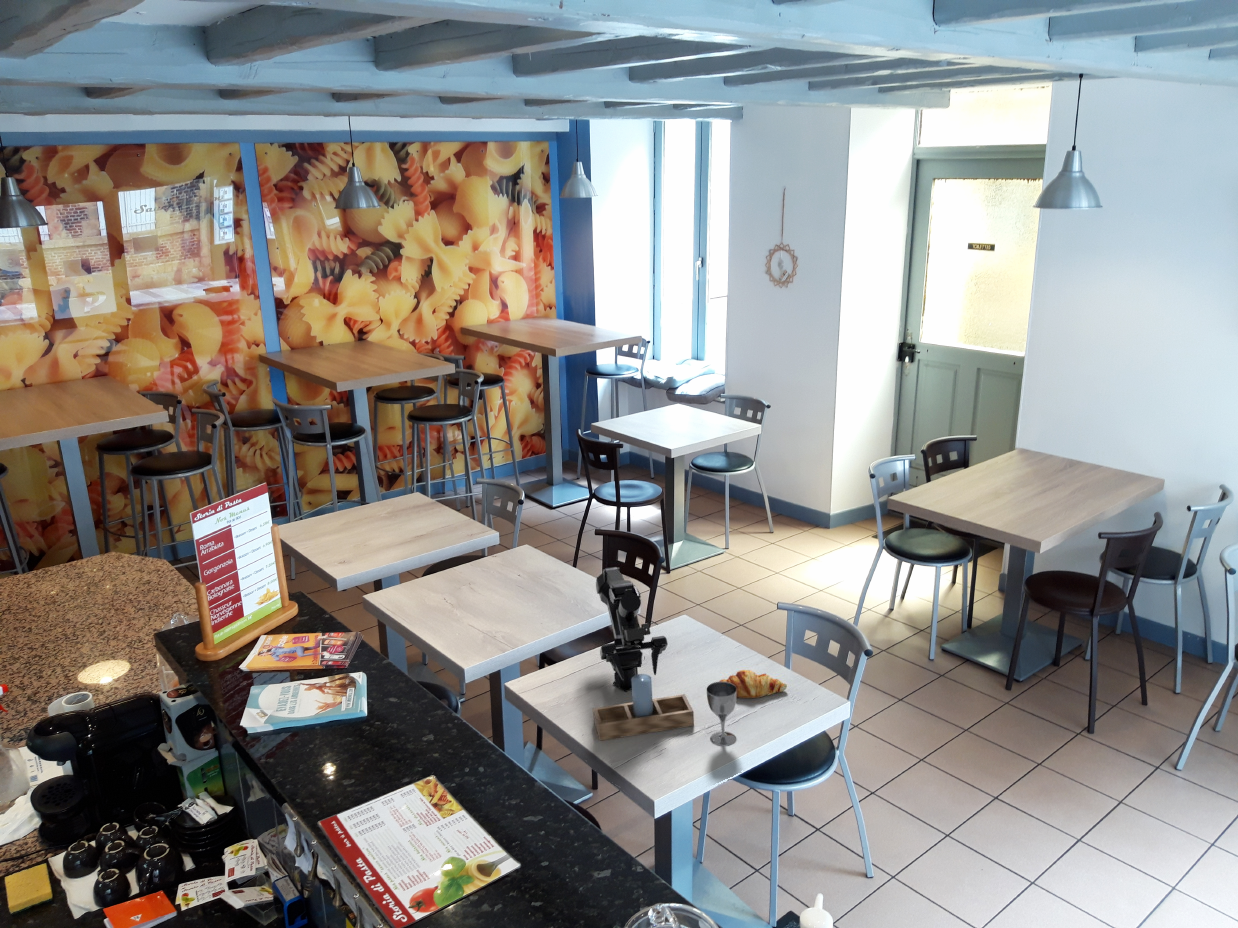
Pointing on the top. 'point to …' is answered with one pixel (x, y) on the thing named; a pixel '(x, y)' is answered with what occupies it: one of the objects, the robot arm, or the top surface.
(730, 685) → the wine glass
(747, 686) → the croissant
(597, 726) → the rack
